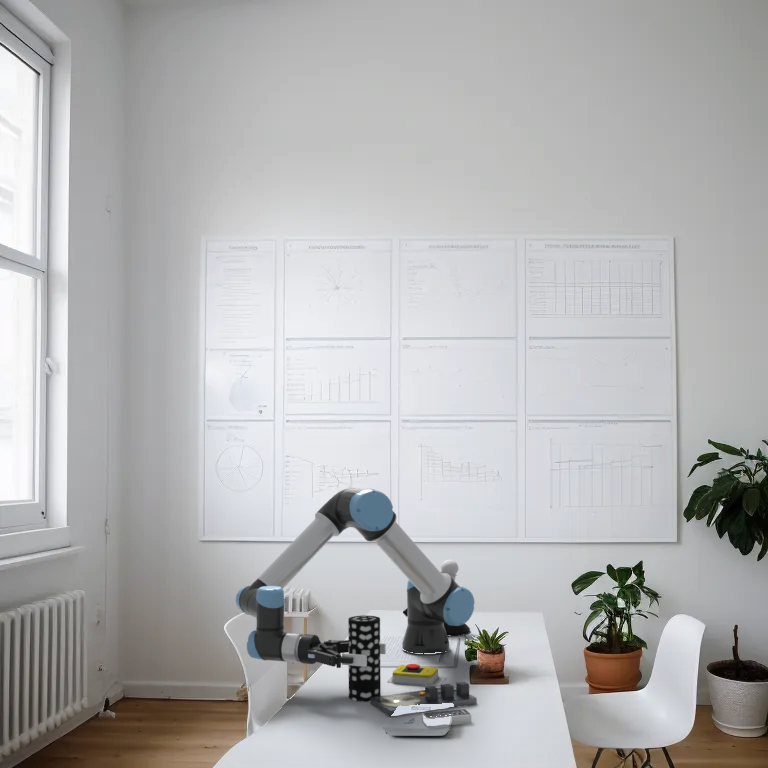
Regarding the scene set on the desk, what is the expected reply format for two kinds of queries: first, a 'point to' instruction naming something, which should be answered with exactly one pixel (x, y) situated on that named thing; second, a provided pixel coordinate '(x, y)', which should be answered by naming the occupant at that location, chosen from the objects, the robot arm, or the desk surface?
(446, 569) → the sculpture
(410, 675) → the emergency button
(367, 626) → the spotted tube
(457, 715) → the multiport hub
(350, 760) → the desk surface
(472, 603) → the robot arm
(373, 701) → the breaker board
